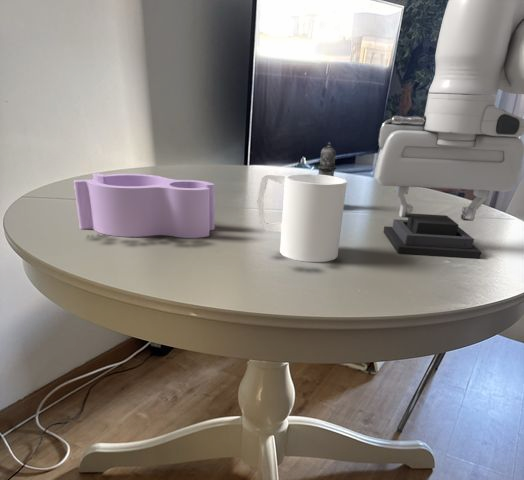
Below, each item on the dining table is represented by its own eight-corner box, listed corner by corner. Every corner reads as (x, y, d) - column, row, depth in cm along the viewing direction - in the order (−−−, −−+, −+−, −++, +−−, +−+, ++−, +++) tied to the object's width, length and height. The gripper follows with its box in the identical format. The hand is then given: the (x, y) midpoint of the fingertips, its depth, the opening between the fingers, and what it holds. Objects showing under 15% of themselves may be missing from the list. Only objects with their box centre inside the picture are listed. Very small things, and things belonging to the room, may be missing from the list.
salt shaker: (315, 201, 100) (321, 139, 94) (341, 206, 97) (349, 142, 92) (303, 206, 95) (308, 141, 90) (330, 211, 93) (337, 144, 87)
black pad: (442, 234, 77) (446, 215, 76) (453, 244, 72) (458, 224, 70) (405, 231, 77) (408, 213, 76) (414, 242, 72) (418, 222, 71)
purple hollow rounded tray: (219, 223, 80) (220, 179, 77) (202, 243, 69) (202, 194, 66) (105, 213, 82) (100, 171, 79) (70, 232, 71) (64, 183, 68)
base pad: (454, 236, 80) (458, 221, 79) (480, 258, 70) (484, 241, 69) (383, 232, 80) (385, 217, 79) (397, 253, 70) (401, 236, 69)
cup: (263, 238, 73) (266, 169, 68) (341, 248, 70) (350, 177, 66) (246, 253, 66) (249, 177, 61) (332, 265, 64) (342, 186, 59)
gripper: (386, 116, 64) (370, 219, 71) (540, 123, 64) (510, 226, 70) (378, 113, 70) (364, 210, 76) (519, 120, 69) (494, 216, 76)
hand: (435, 218), depth 73 cm, fingers open, 8 cm apart
